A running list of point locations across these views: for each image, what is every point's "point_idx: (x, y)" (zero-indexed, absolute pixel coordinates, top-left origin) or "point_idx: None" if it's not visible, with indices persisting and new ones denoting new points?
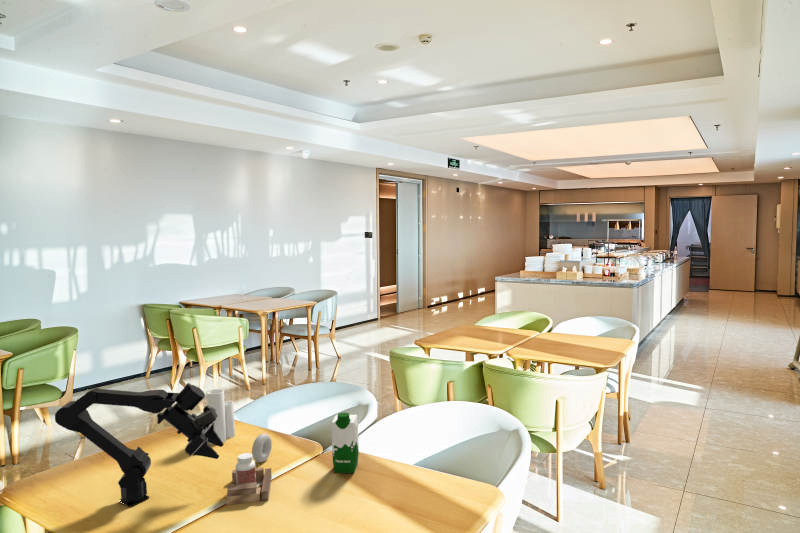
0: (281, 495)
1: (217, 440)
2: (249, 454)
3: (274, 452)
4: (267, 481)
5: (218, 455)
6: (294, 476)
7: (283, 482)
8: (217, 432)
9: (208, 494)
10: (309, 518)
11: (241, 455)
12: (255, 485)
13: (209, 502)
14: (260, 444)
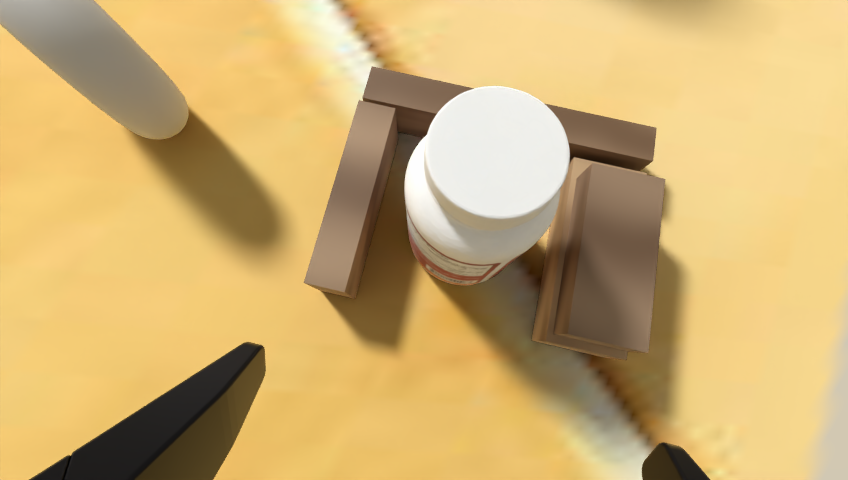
0: (597, 90)
1: (189, 453)
2: (480, 107)
3: None
4: None
5: (691, 460)
6: (424, 3)
7: (466, 58)
8: None
9: (436, 450)
10: (837, 29)
11: (471, 178)
12: (637, 175)
13: (540, 450)
14: (118, 30)
